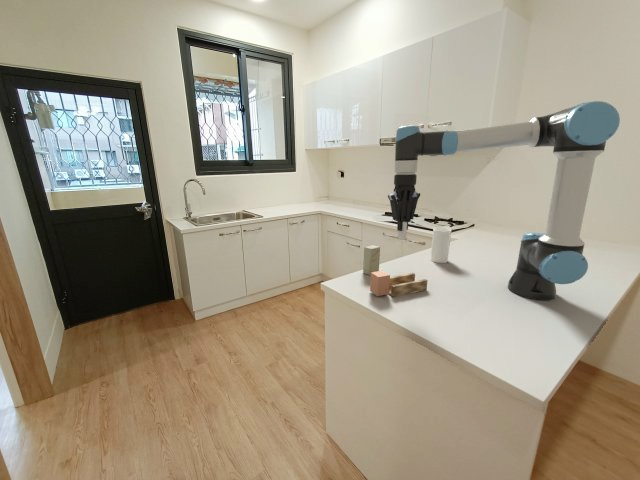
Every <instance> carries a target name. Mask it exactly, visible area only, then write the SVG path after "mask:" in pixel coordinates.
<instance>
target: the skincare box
mask: <svg viewBox="0 0 640 480" xmlns="http://www.w3.org/2000/svg"><path fill="white" fill-rule="evenodd" d="M380 253H381V246H378V245H375V244H372V245H367V246H364V247H363V267H362V273H363V274H366V275H368V276H371V272H377V271H380V259H381V258H380V256H381V254H380Z"/></svg>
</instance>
